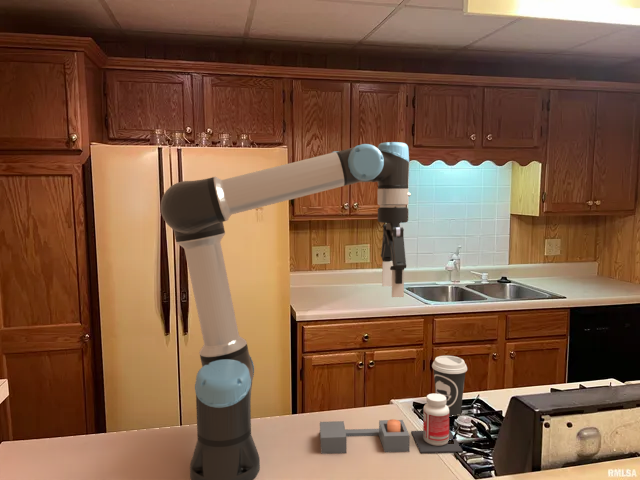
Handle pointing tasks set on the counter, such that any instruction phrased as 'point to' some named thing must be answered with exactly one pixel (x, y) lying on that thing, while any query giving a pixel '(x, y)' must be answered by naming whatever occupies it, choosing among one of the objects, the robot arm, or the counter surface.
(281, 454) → the counter surface
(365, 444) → the counter surface
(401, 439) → the housing
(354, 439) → the counter surface
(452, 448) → the mat
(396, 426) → the plunger
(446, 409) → the pill bottle
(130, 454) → the counter surface
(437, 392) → the coffee cup
